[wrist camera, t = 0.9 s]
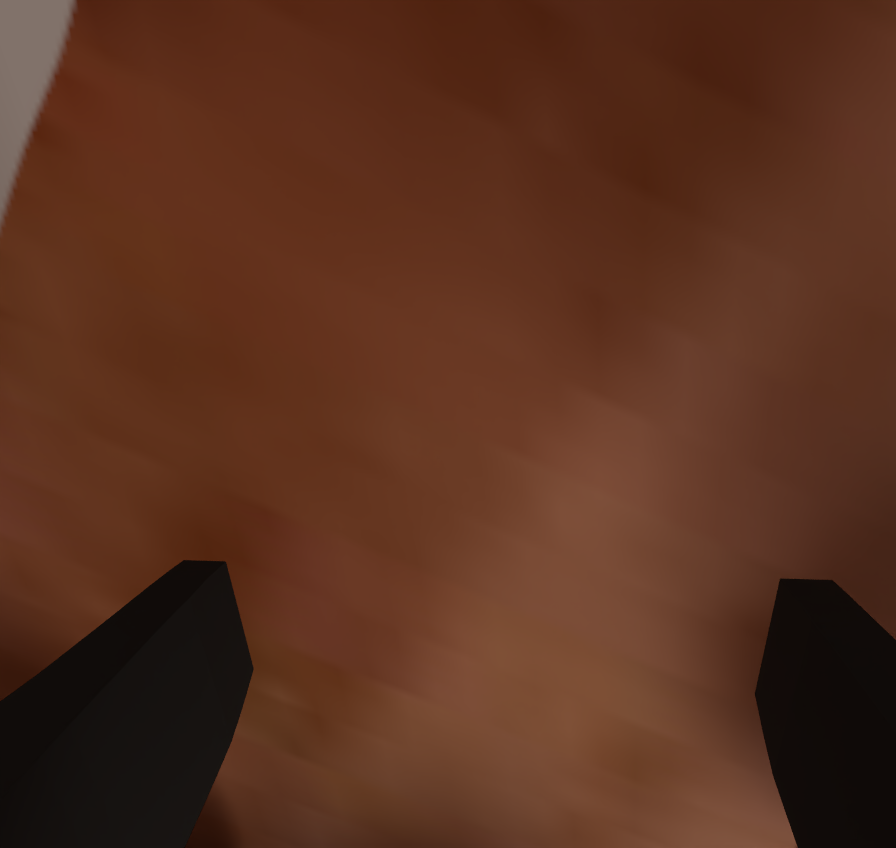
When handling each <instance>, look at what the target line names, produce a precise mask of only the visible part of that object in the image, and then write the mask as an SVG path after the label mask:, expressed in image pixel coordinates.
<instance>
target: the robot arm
mask: <svg viewBox="0 0 896 848" xmlns="http://www.w3.org/2000/svg"><path fill="white" fill-rule="evenodd" d="M253 669H254V668H253V665H252V661H251V657H250V653H249V649H248V645H247V641H246V638H245V634H244V630H243V626H242V622H241V618H240V614H239V611H238V607H237V603H236V599H235V595H234V591H233V588H232V584H231V580H230V576H229V572H228V568H227V564H226V562H224V561H191V560H183V561H182V562H181V563H179V564H178V565H177V566H175V567H174V568H172V569H171V570H170V571H168V572H167V573H166V574H164V575H163V576H162V577H160V578H159V579H158V580H157V581H155V582H154V583H153V584H151V585H150V586H149V587H148V588H146V589H145V590H144V591H143V592H141V593H140V594H139V595H138V596H136V597H135V598H134V599H133V600H131V601H130V602H129V603H128V604H126V605H125V606H124V607H123V608H121V609H120V610H119V611H118V612H116V613H115V614H114V615H113V616H111V617H110V618H109V619H108V620H106V621H105V622H104V623H103V624H101V625H100V626H99V627H97V628H96V629H95V630H94V631H92V632H91V633H90V634H89V635H87V636H86V637H85V638H83V639H82V640H81V641H80V642H78V643H77V644H76V645H75V646H73V647H72V648H71V649H69V650H68V651H67V652H66V653H64V654H63V655H62V656H61V657H59V658H58V659H57V660H55V661H54V662H53V663H52V664H50V665H49V666H48V667H47V668H45V669H44V670H43V671H41V672H40V673H39V674H37V675H36V676H35V677H33V678H32V679H30V680H29V681H28V682H26V683H25V684H24V685H22V686H21V687H20V688H18V689H17V690H15V691H14V692H13V693H11V694H10V695H9V696H7V697H6V698H4V699H3V700H2V701H0V848H185V846H186V843H187V841H188V839H189V837H190V834H191V832H192V830H193V828H194V826H195V823H196V821H197V819H198V817H199V814H200V812H201V810H202V808H203V806H204V803H205V801H206V799H207V797H208V794H209V792H210V790H211V787H212V785H213V783H214V781H215V778H216V776H217V774H218V771H219V769H220V767H221V765H222V762H223V760H224V758H225V755H226V753H227V751H228V748H229V746H230V744H231V741H232V738H233V735H234V732H235V729H236V726H237V723H238V720H239V717H240V714H241V710H242V707H243V704H244V700H245V697H246V694H247V690H248V687H249V683H250V680H251V676H252V673H253ZM755 697H756V701H757V706H758V711H759V716H760V720H761V725H762V730H763V734H764V739H765V743H766V747H767V752H768V756H769V760H770V764H771V769H772V773H773V776H774V779H775V782H776V785H777V788H778V791H779V794H780V797H781V800H782V803H783V806H784V809H785V812H786V815H787V818H788V820H789V823H790V826H791V829H792V832H793V835H794V838H795V841H796V844H797V846H798V848H896V640H895V639H894V638H893V637H892V636H891V635H890V634H889V633H888V632H887V631H886V630H885V629H884V628H882V627H881V626H880V625H879V624H878V623H877V622H876V621H875V620H874V619H873V618H872V617H871V616H870V615H869V614H868V613H867V612H866V611H865V610H864V609H863V608H862V607H861V606H859V605H858V604H857V603H856V602H855V601H854V600H853V599H852V598H851V597H850V596H849V595H848V594H847V593H846V592H845V591H844V590H843V589H841V588H840V587H839V586H838V585H837V584H836V583H835V582H834V581H833V580H810V579H780V581H779V586H778V591H777V595H776V600H775V604H774V609H773V613H772V618H771V623H770V627H769V632H768V636H767V641H766V645H765V650H764V655H763V659H762V664H761V668H760V673H759V677H758V682H757V687H756V691H755Z"/></svg>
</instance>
